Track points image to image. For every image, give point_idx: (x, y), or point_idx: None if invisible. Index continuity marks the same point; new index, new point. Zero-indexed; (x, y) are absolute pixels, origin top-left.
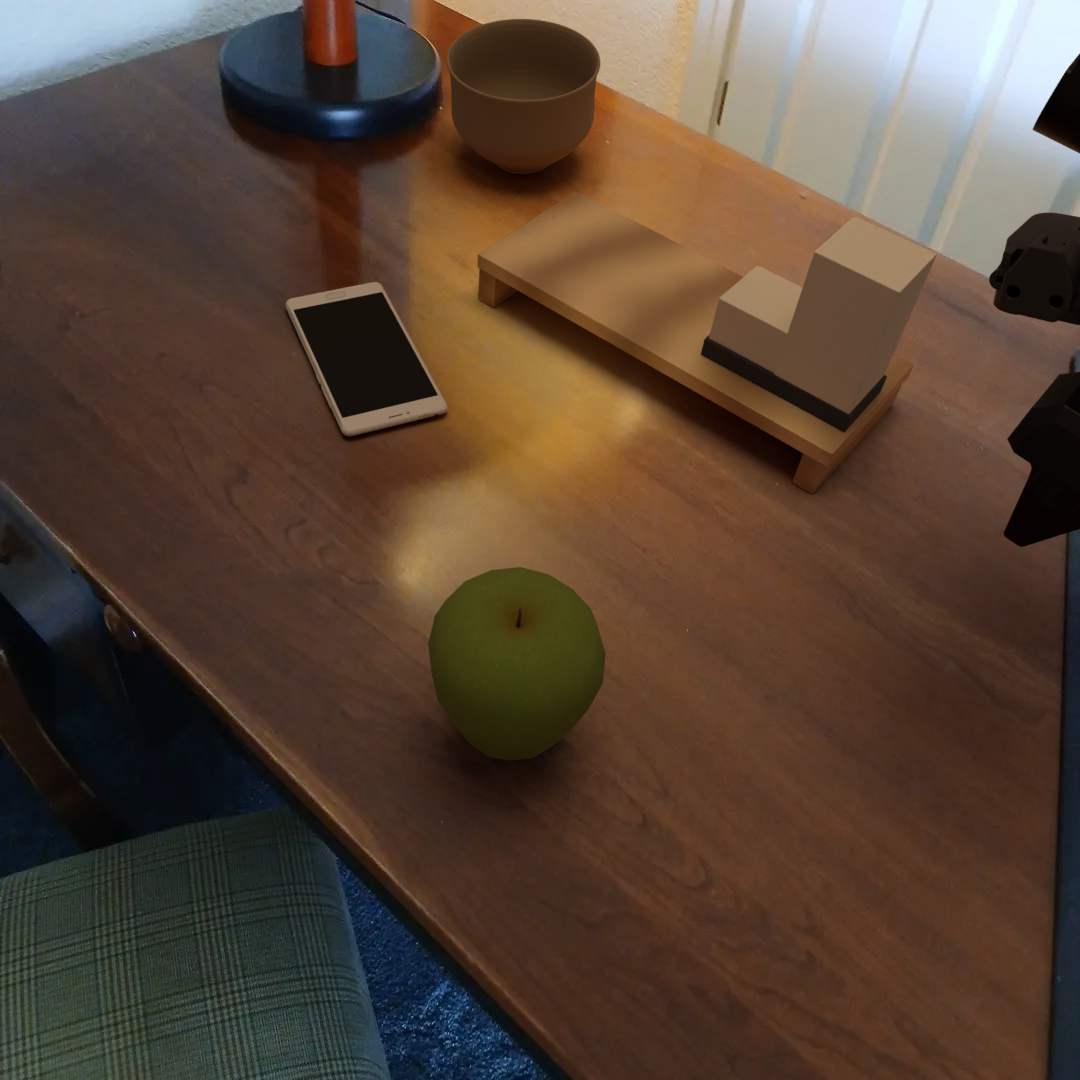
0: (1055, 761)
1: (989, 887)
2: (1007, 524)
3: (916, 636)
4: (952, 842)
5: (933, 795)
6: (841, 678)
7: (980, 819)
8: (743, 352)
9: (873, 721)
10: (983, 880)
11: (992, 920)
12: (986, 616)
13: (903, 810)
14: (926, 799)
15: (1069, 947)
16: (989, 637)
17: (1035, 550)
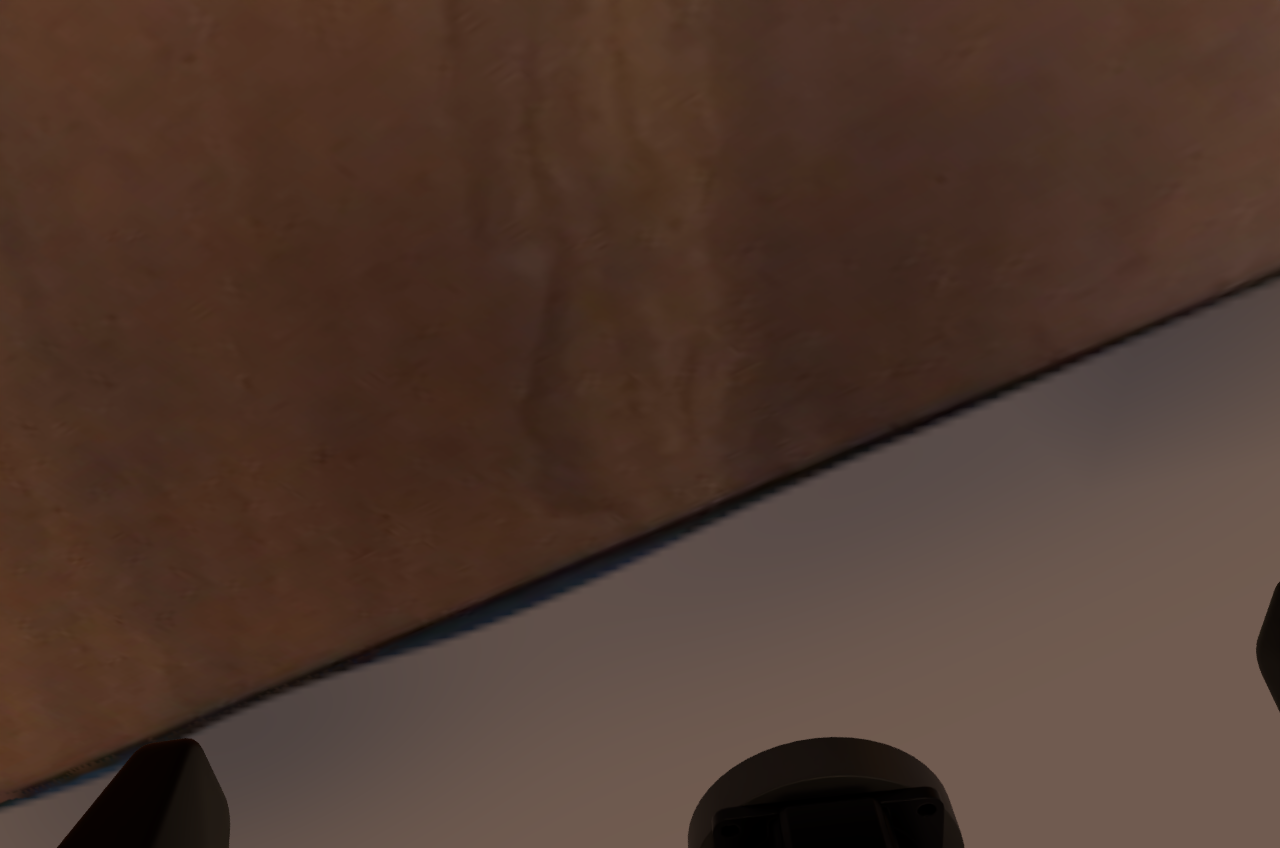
0: (495, 587)
1: (66, 637)
2: (78, 824)
3: (541, 120)
4: (69, 538)
5: (125, 448)
6: (169, 39)
7: (186, 550)
8: None
9: (145, 211)
10: (66, 623)
11: (11, 673)
12: (803, 237)
13: (13, 421)
14: (98, 442)
15: None
16: (731, 286)
17: (1208, 204)
